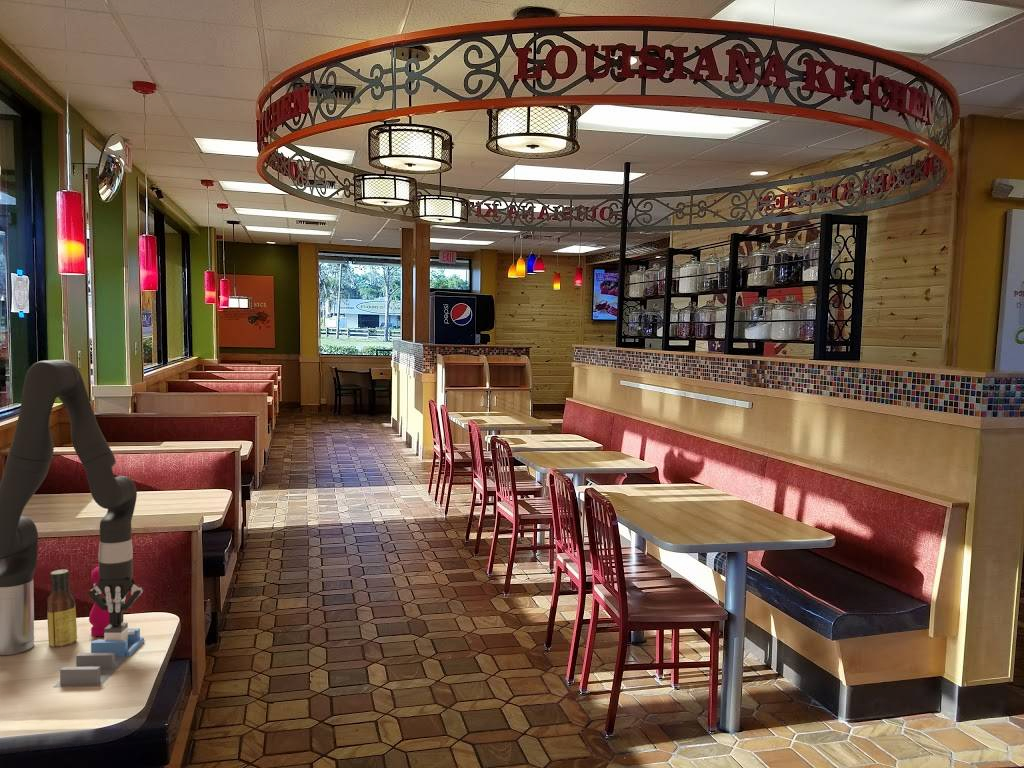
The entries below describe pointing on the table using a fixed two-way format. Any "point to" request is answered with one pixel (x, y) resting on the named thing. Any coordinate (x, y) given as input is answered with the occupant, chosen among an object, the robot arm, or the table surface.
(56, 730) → the table surface
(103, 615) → the pepper mill
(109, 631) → the grey block
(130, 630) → the grey fixture board
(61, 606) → the sauce bottle
